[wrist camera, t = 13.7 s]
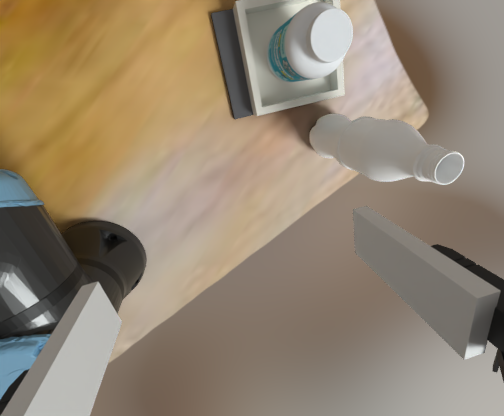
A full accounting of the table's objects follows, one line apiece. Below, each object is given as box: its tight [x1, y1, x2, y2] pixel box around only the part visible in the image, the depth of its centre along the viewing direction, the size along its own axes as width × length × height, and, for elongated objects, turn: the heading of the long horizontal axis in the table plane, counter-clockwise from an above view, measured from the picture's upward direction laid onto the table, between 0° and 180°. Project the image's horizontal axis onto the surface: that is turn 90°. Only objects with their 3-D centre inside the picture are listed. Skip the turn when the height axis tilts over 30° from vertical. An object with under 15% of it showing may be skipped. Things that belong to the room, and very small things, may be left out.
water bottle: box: [309, 114, 464, 185], centre depth 34 cm, size 7×7×25 cm
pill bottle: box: [267, 2, 353, 82], centre depth 32 cm, size 8×7×14 cm
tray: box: [233, 0, 345, 116], centre depth 37 cm, size 14×14×3 cm
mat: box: [211, 9, 253, 119], centre depth 39 cm, size 18×14×1 cm
